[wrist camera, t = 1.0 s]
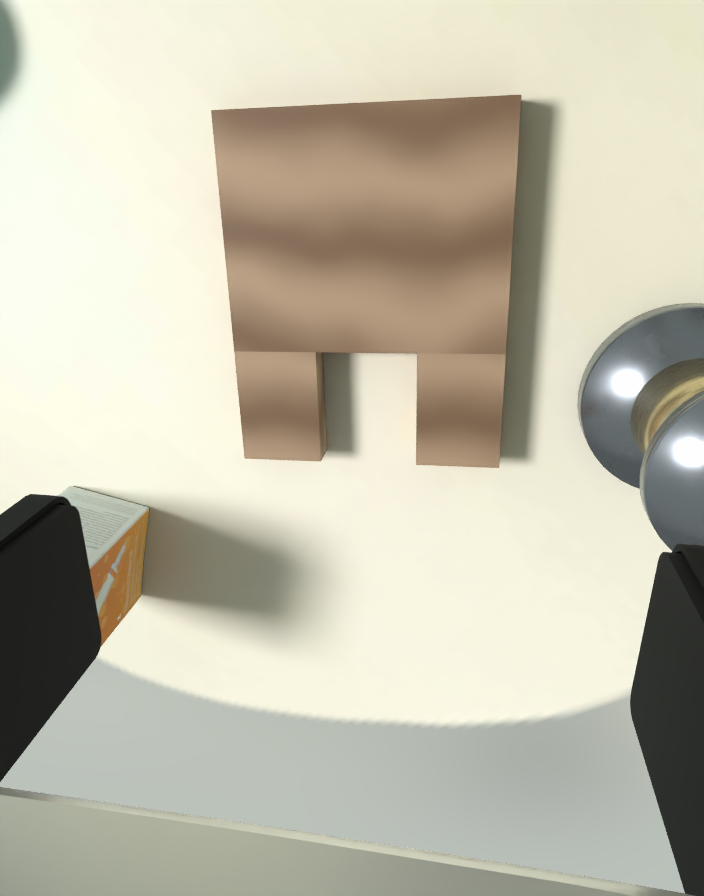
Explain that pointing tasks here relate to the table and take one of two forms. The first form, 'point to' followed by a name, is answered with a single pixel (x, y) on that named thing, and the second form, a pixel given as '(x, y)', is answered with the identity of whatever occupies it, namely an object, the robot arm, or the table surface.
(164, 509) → the table surface
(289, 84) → the table surface
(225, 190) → the notched board
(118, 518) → the small box
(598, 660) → the table surface
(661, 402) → the bobbin
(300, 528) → the table surface
